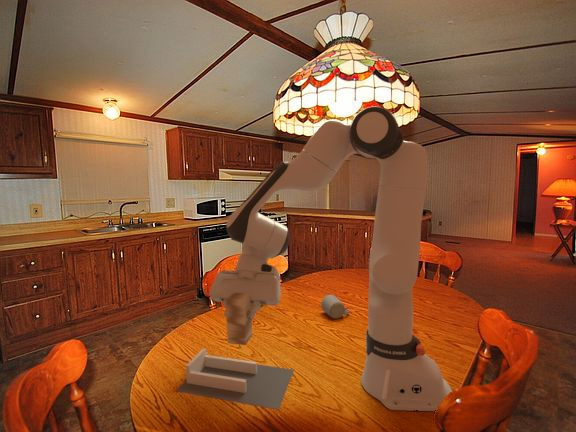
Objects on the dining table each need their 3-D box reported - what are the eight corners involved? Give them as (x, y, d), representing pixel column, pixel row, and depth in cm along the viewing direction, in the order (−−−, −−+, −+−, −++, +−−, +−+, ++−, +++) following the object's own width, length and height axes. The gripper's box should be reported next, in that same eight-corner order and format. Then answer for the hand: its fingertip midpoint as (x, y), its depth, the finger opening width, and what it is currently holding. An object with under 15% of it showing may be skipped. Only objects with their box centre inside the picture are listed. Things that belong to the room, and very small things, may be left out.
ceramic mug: (330, 321, 119) (330, 302, 118) (320, 313, 127) (321, 295, 126) (353, 317, 123) (353, 299, 122) (342, 309, 130) (343, 292, 130)
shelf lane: (294, 371, 87) (293, 353, 86) (278, 411, 72) (278, 389, 71) (206, 358, 94) (206, 341, 93) (175, 392, 79) (174, 372, 78)
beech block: (252, 335, 83) (250, 293, 82) (245, 345, 78) (243, 300, 77) (235, 334, 84) (233, 292, 83) (227, 343, 79) (225, 299, 78)
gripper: (214, 264, 89) (198, 310, 80) (281, 267, 84) (271, 316, 75) (221, 275, 93) (207, 319, 85) (285, 278, 88) (277, 325, 80)
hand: (238, 317), depth 80 cm, fingers closed on beech block, 5 cm apart
